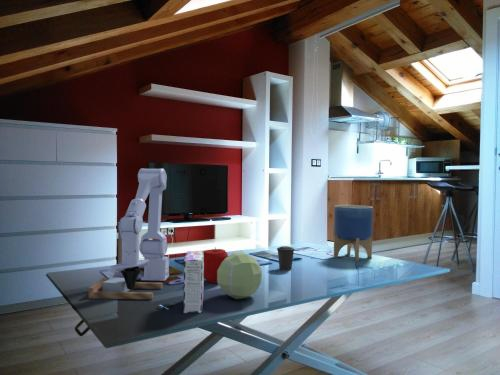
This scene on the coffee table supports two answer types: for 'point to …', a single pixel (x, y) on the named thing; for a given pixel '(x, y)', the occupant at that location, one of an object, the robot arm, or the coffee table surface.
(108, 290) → the keeper
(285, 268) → the coffee cup
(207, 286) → the coffee table surface
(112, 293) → the track
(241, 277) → the decorative sphere
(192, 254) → the candy box
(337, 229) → the planter
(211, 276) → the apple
